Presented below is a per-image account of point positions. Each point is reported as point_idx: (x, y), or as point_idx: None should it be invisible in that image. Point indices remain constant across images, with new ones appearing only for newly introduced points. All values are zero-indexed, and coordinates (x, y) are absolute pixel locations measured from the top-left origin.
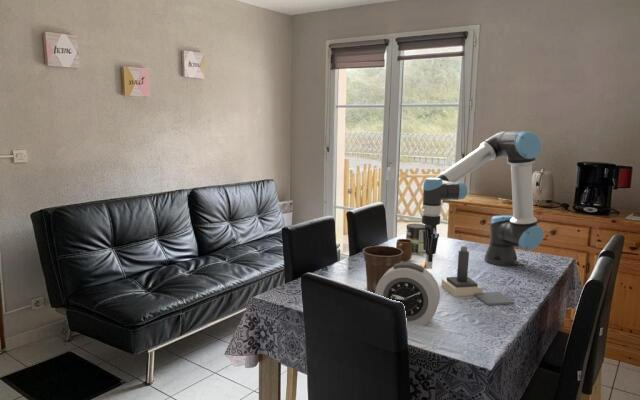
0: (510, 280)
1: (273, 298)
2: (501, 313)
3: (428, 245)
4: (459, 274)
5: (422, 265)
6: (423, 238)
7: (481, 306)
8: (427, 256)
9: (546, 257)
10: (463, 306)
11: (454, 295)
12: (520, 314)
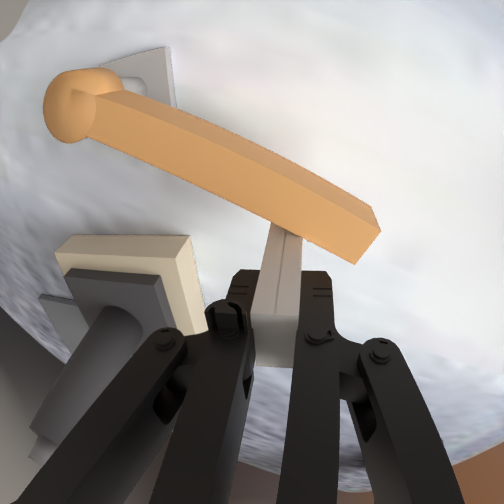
0: (256, 431)
1: None
2: (15, 294)
3: (189, 433)
4: (87, 331)
5: (245, 189)
6: (442, 499)
7: (30, 276)
8: (256, 298)
9: None
10: (13, 227)
11: (71, 238)
12: (28, 325)
